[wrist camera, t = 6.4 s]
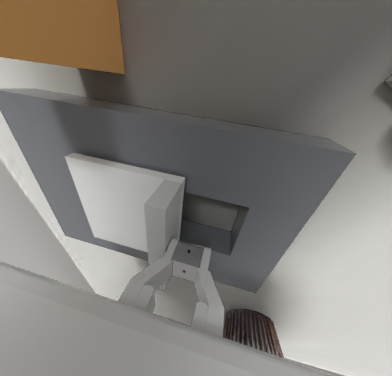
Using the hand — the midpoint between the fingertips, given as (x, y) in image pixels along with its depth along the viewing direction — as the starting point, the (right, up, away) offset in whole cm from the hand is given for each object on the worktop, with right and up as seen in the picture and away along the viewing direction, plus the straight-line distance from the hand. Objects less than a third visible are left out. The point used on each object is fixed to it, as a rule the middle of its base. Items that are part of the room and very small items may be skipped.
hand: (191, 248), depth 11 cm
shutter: (-5, +2, +3) cm, 6 cm away
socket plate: (-3, +4, +5) cm, 7 cm away
